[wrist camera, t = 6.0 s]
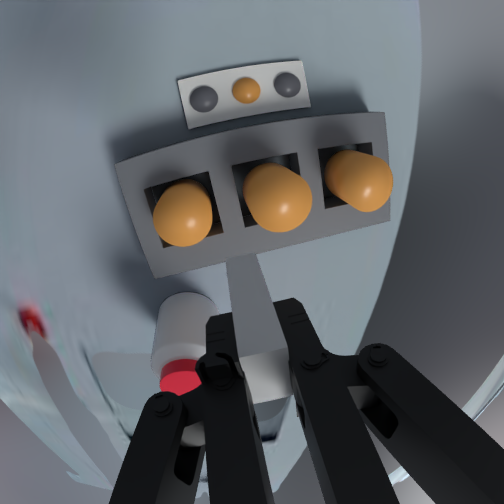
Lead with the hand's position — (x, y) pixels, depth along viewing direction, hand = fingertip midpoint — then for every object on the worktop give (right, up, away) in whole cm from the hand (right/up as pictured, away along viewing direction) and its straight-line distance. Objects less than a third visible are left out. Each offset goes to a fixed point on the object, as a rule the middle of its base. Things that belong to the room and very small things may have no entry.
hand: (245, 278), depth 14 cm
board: (+2, +8, +13) cm, 16 cm away
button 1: (+10, +9, +11) cm, 18 cm away
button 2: (-6, +6, +12) cm, 15 cm away
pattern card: (0, +17, +9) cm, 19 cm away
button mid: (+2, +7, +11) cm, 13 cm away
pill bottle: (-7, -7, +19) cm, 22 cm away
